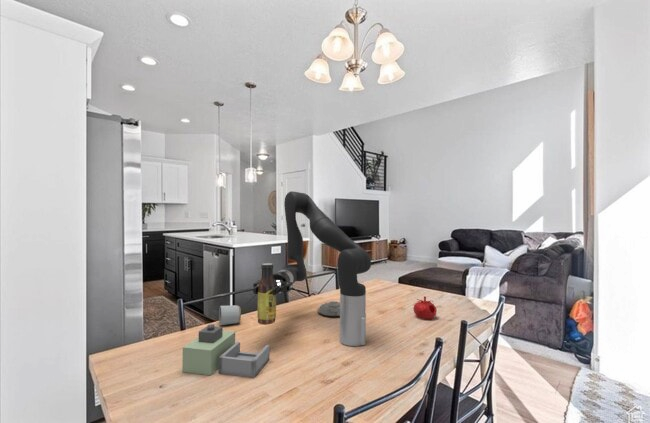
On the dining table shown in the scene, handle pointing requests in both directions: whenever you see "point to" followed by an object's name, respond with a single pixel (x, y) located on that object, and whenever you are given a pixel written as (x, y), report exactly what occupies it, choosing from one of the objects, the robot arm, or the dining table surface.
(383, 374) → the dining table surface
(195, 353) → the knobbed green block
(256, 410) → the dining table surface
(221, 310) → the white cylinder
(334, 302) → the flying saucer
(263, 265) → the sauce bottle
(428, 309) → the red round fruit
